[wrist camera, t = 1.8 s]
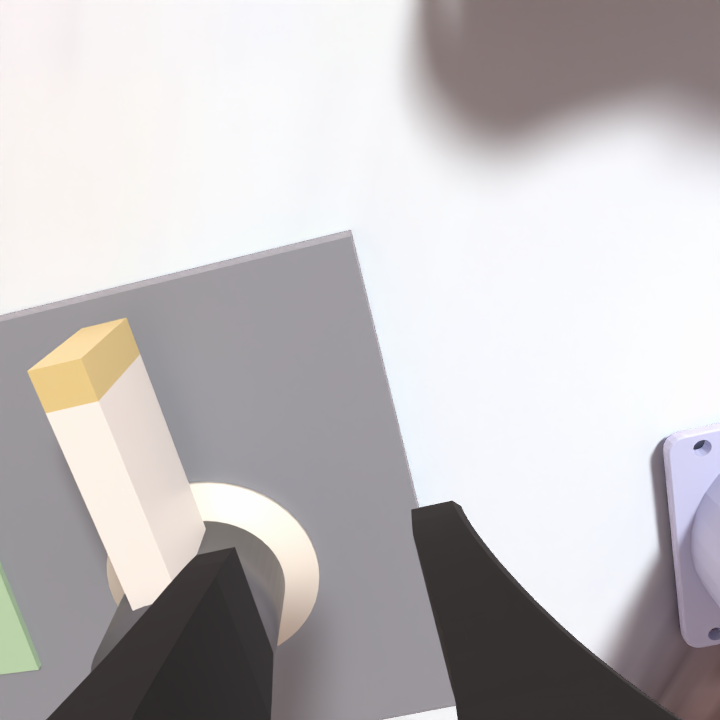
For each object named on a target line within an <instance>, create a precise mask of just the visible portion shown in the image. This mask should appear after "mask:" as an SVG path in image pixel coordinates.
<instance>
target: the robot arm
mask: <svg viewBox="0 0 720 720" xmlns="http://www.w3.org/2000/svg"><path fill="white" fill-rule="evenodd" d="M701 440H705V443H704V445H703V446H702V447H701V448H699V449H697V450H693V449H694V445H695V444H696V443H697V442H699V441H701ZM663 455H664V465H665V475H666V486H667V496H668V506H669V516H670V527H671V537H672V547H673V557H674V568H675V578H676V588H677V598H678V609H679V619H680V629H681V634H682V637H683V638H684V640H685V641H686V643H687V644H688V645H689V646H691V647H695V648H701V647H707V646H712V645H717V644H720V423H716V424H711V425H706V426H702V427H697V428H692V429H688V430H683V431H679V432H676V433H673V434H672V435H670V436H669V437H668V438H667V439H666V441H665V443H664V446H663ZM411 516H412V530H413V537H414V541H415V545H416V549H417V553H418V557H419V561H420V565H421V569H422V573H423V577H424V581H425V585H426V589H427V593H428V597H429V601H430V604H431V608H432V612H433V616H434V620H435V624H436V628H437V632H438V636H439V640H440V644H441V648H442V652H443V656H444V660H445V664H446V668H447V672H448V676H449V680H450V684H451V687H452V691H453V695H454V698H455V703H456V709H457V716H458V720H682V719H681V718H679V717H678V716H676V715H675V714H673V713H672V712H670V711H669V710H667V709H666V708H664V707H663V706H661V705H660V704H658V703H657V702H655V701H654V700H653V699H651V698H650V697H649V696H647V695H646V694H645V693H643V692H642V691H641V690H639V689H638V688H637V687H635V686H634V685H633V684H631V683H630V682H629V681H627V680H626V679H625V678H623V677H622V676H621V675H619V674H618V673H617V672H616V671H614V670H613V669H612V668H611V667H609V666H608V665H607V664H606V663H605V662H603V661H602V660H601V659H600V658H598V657H597V656H596V655H595V654H593V653H592V652H591V651H590V650H589V649H587V648H586V647H585V646H584V645H583V644H582V643H580V642H579V641H578V640H577V639H576V638H575V637H574V636H573V635H571V634H570V633H569V632H568V631H567V630H566V629H565V628H564V627H563V626H561V625H560V624H559V623H558V622H557V621H556V620H555V619H554V618H553V617H552V616H551V615H550V614H549V613H548V612H547V611H546V610H545V609H544V608H543V607H542V606H541V605H539V604H538V603H537V602H536V601H535V600H534V598H533V597H532V596H531V595H530V594H529V593H528V592H527V591H526V590H525V589H524V588H523V587H522V586H521V585H520V584H519V583H518V582H517V580H516V579H515V578H514V577H513V576H512V575H511V574H510V573H509V572H508V571H507V569H506V568H505V567H504V566H503V565H502V564H501V563H500V562H499V560H498V559H497V558H496V557H495V556H494V554H493V553H492V552H491V551H490V550H489V548H488V547H487V546H486V544H485V543H484V542H483V540H482V539H481V538H480V536H479V535H478V534H477V532H476V531H475V530H474V528H473V527H472V525H471V524H470V522H469V520H468V519H467V517H466V515H465V514H464V512H463V510H462V507H461V506H460V505H458V504H457V503H455V502H453V501H449V502H444V503H439V504H435V505H430V506H425V507H420V508H416V509H411ZM716 627H717V628H716ZM713 628H716V629H715V630H713V631H711V629H713ZM710 631H711V632H710ZM272 685H273V650H272V648H271V645H270V642H269V639H268V637H267V634H266V631H265V628H264V626H263V623H262V620H261V617H260V615H259V612H258V609H257V606H256V603H255V601H254V598H253V595H252V592H251V590H250V587H249V584H248V581H247V579H246V576H245V573H244V570H243V568H242V565H241V562H240V559H239V556H238V554H237V551H236V548H235V547H232V548H227V549H222V550H218V551H213V552H208V553H204V554H199V555H196V556H195V557H194V558H193V559H192V560H191V561H190V562H189V563H188V564H187V565H186V566H185V567H184V568H183V569H182V570H181V571H180V573H179V574H178V575H177V576H176V577H175V578H174V579H173V580H172V582H171V583H170V584H169V585H168V586H167V587H166V588H165V590H164V591H163V592H162V593H161V594H160V595H159V597H158V598H157V599H156V600H155V601H154V602H153V604H152V605H151V606H150V607H149V608H148V609H147V610H146V612H145V613H144V614H143V615H142V616H141V617H140V618H139V620H138V621H137V622H136V623H135V624H134V625H133V626H132V628H131V629H130V630H129V631H128V632H127V633H126V634H125V636H124V637H123V638H122V639H121V640H120V641H119V642H118V644H117V645H116V646H115V647H114V648H113V649H112V650H111V651H110V653H109V654H108V655H107V656H106V657H105V658H104V659H103V660H102V661H101V662H100V663H99V664H98V666H97V667H96V668H95V669H94V670H93V671H92V672H91V673H90V674H89V675H88V676H87V677H86V678H85V679H84V680H83V681H82V682H81V683H80V684H79V686H78V687H77V688H76V689H75V690H74V691H73V692H72V693H71V694H70V695H69V696H68V697H67V698H66V699H65V700H64V701H63V702H62V703H61V705H60V706H59V707H58V708H57V709H56V710H55V711H54V712H53V713H52V714H51V715H50V716H49V717H48V718H47V719H46V720H271V706H272Z"/></svg>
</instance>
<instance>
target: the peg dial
mask: <svg viewBox="0 0 720 720" xmlns="http://www.w3.org/2000/svg"><path fill="white" fill-rule="evenodd" d="M27 372H28V374H29V377H30V379H31V381H32V383H33V386H34V388H35V390H36V392H37V395H38V397H39V399H40V401H41V404H42V406H43V408H44V411H45V413H46V415H47V417H48V420H49V422H50V424H51V426H52V429H53V431H54V433H55V436H56V438H57V440H58V442H59V445H60V447H61V449H62V451H63V454H64V456H65V458H66V460H67V463H68V465H69V467H70V470H71V472H72V474H73V476H74V479H75V481H76V483H77V485H78V488H79V490H80V492H81V495H82V497H83V499H84V501H85V504H86V506H87V508H88V510H89V513H90V515H91V517H92V519H93V522H94V524H95V526H96V529H97V531H98V533H99V535H100V538H101V540H102V542H103V544H104V547H105V549H106V551H107V553H108V556H109V558H110V560H111V563H112V565H113V567H114V569H115V572H116V574H117V576H118V578H119V581H120V583H121V585H122V588H123V590H124V592H125V593H124V595H123V597H122V599H121V602H120V604H119V606H118V608H117V610H116V612H115V614H114V616H113V618H112V620H111V622H110V625H109V627H108V629H107V631H106V633H105V635H104V637H103V639H102V641H101V643H100V645H99V648H98V650H97V652H96V654H95V656H94V658H93V662H92V665H91V672H92V671H93V670H94V669H95V668H96V667H97V666H98V664H99V663H100V662H101V661H102V660H103V659H104V658H105V657H106V656H107V655H108V654H109V653H110V651H111V650H112V649H113V648H114V647H115V646H116V645H117V644H118V642H119V641H120V640H121V639H122V638H123V637H124V636H125V634H126V633H127V632H128V631H129V630H130V629H131V628H132V626H133V625H134V624H135V623H136V622H137V621H138V620H139V618H140V617H141V616H142V615H143V614H144V613H145V612H146V610H147V609H148V608H149V607H150V606H151V605H152V604H153V602H154V601H155V600H156V599H157V598H158V597H159V595H160V594H161V593H162V592H163V591H164V590H165V588H166V587H167V586H168V585H169V584H170V583H171V582H172V580H173V579H174V578H175V577H176V576H177V575H178V574H179V573H180V571H181V570H182V569H183V568H184V567H185V566H186V565H187V564H188V563H189V562H190V561H191V560H192V559H193V558H194V557H195V556H196V555H199V554H204V553H208V552H213V551H218V550H222V549H227V548H232V547H235V548H236V551H237V554H238V556H239V559H240V562H241V565H242V568H243V570H244V573H245V576H246V579H247V581H248V584H249V587H250V590H251V592H252V595H253V598H254V601H255V603H256V606H257V609H258V612H259V615H260V617H261V620H262V623H263V626H264V628H265V631H266V634H267V637H268V639H269V642H270V645H271V648H272V650H273V671H274V664H275V657H276V650H277V643H278V636H279V630H280V623H281V616H282V609H283V602H284V595H285V577H284V573H283V569H282V567H281V565H280V562H279V560H278V559H277V557H276V555H275V554H274V553H273V551H272V550H271V549H270V548H269V547H268V546H267V545H266V544H265V543H264V542H263V541H262V540H261V539H259V538H258V537H257V536H255V535H254V534H252V533H250V532H248V531H247V530H244V529H242V528H240V527H237V526H234V525H231V524H228V523H222V522H216V521H203V520H202V517H201V515H200V512H199V509H198V507H197V504H196V501H195V499H194V496H193V493H192V491H191V488H190V485H189V483H188V480H187V477H186V475H185V472H184V469H183V467H182V464H181V461H180V459H179V456H178V453H177V451H176V448H175V445H174V443H173V440H172V437H171V435H170V432H169V430H168V427H167V424H166V422H165V419H164V416H163V414H162V411H161V408H160V406H159V403H158V400H157V398H156V395H155V392H154V390H153V387H152V384H151V382H150V379H149V376H148V374H147V371H146V368H145V366H144V363H143V360H142V358H141V355H140V352H139V350H138V347H137V344H136V342H135V339H134V336H133V334H132V331H131V328H130V326H129V323H128V320H127V318H123V319H119V320H114V321H110V322H106V323H102V324H98V325H94V326H90V327H85V328H81V329H80V330H79V331H77V332H76V333H75V334H74V335H72V336H71V337H70V338H69V339H67V340H66V341H65V342H64V343H62V344H61V345H60V346H58V347H57V348H56V349H55V350H53V351H52V352H51V353H50V354H48V355H47V356H46V357H45V358H43V359H42V360H41V361H39V362H38V363H37V364H36V365H34V366H33V367H32V368H31V369H29V370H28V371H27Z"/></svg>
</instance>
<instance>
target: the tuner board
mask: <svg viewBox="0 0 720 720" xmlns="http://www.w3.org/2000/svg"><path fill="white" fill-rule="evenodd" d="M123 318H127V320H128V323H129V326H130V328H131V331H132V334H133V336H134V339H135V342H136V344H137V347H138V350H139V352H140V355H141V358H142V360H143V363H144V366H145V368H146V371H147V374H148V376H149V379H150V382H151V384H152V387H153V390H154V392H155V395H156V398H157V400H158V403H159V406H160V408H161V411H162V414H163V416H164V419H165V422H166V424H167V427H168V430H169V432H170V435H171V437H172V440H173V443H174V445H175V448H176V451H177V453H178V456H179V459H180V461H181V464H182V467H183V469H184V472H185V475H186V477H187V480H188V483H189V485H190V488H191V491H192V493H193V496H194V499H195V501H196V504H197V507H198V509H199V512H200V515H201V517H202V520H203V521H216V522H222V523H228V524H231V525H234V526H237V527H240V528H242V529H244V530H247V531H248V532H250V533H252V534H254V535H255V536H257V537H258V538H259V539H261V540H262V541H263V542H264V543H265V544H266V545H267V546H268V547H269V548H270V549H271V550H272V551H273V553H274V554H275V555H276V557H277V559H278V560H279V562H280V565H281V567H282V569H283V573H284V577H285V595H284V602H283V609H282V616H281V623H280V630H279V636H278V643H277V650H276V657H275V664H274V671H273V685H272V706H271V720H383V719H388V718H393V717H398V716H404V715H409V714H414V713H420V712H425V711H430V710H435V709H441V708H446V707H451V706H456V703H455V698H454V695H453V691H452V687H451V684H450V680H449V676H448V672H447V668H446V664H445V660H444V656H443V652H442V648H441V644H440V640H439V636H438V632H437V628H436V624H435V620H434V616H433V612H432V608H431V604H430V601H429V597H428V593H427V589H426V585H425V581H424V577H423V573H422V569H421V565H420V561H419V557H418V553H417V549H416V545H415V541H414V537H413V530H412V516H411V509H416V508H419V506H418V502H417V498H416V494H415V489H414V485H413V481H412V477H411V473H410V469H409V465H408V461H407V457H406V453H405V449H404V445H403V440H402V436H401V432H400V428H399V424H398V420H397V416H396V412H395V408H394V404H393V400H392V396H391V391H390V387H389V383H388V379H387V375H386V371H385V367H384V363H383V359H382V355H381V351H380V347H379V342H378V338H377V334H376V330H375V326H374V322H373V318H372V314H371V310H370V306H369V302H368V298H367V293H366V289H365V285H364V281H363V277H362V273H361V269H360V265H359V261H358V257H357V253H356V249H355V245H354V240H353V236H352V232H351V230H348V231H344V232H340V233H336V234H332V235H328V236H324V237H320V238H316V239H311V240H307V241H303V242H299V243H295V244H291V245H287V246H283V247H279V248H275V249H271V250H266V251H262V252H258V253H254V254H250V255H246V256H242V257H238V258H234V259H230V260H226V261H221V262H217V263H213V264H209V265H205V266H201V267H197V268H193V269H189V270H185V271H181V272H176V273H172V274H168V275H164V276H160V277H156V278H152V279H148V280H144V281H140V282H136V283H132V284H127V285H123V286H119V287H115V288H111V289H107V290H103V291H99V292H95V293H91V294H87V295H82V296H78V297H74V298H70V299H66V300H62V301H58V302H54V303H50V304H46V305H42V306H37V307H33V308H29V309H25V310H21V311H17V312H13V313H9V314H5V315H1V316H0V720H46V719H47V718H48V717H49V716H50V715H51V714H52V713H53V712H54V711H55V710H56V709H57V708H58V707H59V706H60V705H61V703H62V702H63V701H64V700H65V699H66V698H67V697H68V696H69V695H70V694H71V693H72V692H73V691H74V690H75V689H76V688H77V687H78V686H79V684H80V683H81V682H82V681H83V680H84V679H85V678H86V677H87V676H88V675H89V674H90V673H91V665H92V662H93V658H94V656H95V654H96V652H97V650H98V648H99V645H100V643H101V641H102V639H103V637H104V635H105V633H106V631H107V629H108V627H109V625H110V622H111V620H112V618H113V616H114V614H115V612H116V610H117V608H118V606H119V604H120V602H121V599H122V597H123V595H124V593H125V592H124V590H123V588H122V585H121V583H120V581H119V578H118V576H117V574H116V572H115V569H114V567H113V565H112V563H111V560H110V558H109V556H108V553H107V551H106V549H105V547H104V544H103V542H102V540H101V538H100V535H99V533H98V531H97V529H96V526H95V524H94V522H93V519H92V517H91V515H90V513H89V510H88V508H87V506H86V504H85V501H84V499H83V497H82V495H81V492H80V490H79V488H78V485H77V483H76V481H75V479H74V476H73V474H72V472H71V470H70V467H69V465H68V463H67V460H66V458H65V456H64V454H63V451H62V449H61V447H60V445H59V442H58V440H57V438H56V436H55V433H54V431H53V429H52V426H51V424H50V422H49V420H48V417H47V415H46V413H45V411H44V408H43V406H42V404H41V401H40V399H39V397H38V395H37V392H36V390H35V388H34V386H33V383H32V381H31V379H30V377H29V374H28V372H27V371H28V370H29V369H31V368H32V367H33V366H34V365H36V364H37V363H38V362H39V361H41V360H42V359H43V358H45V357H46V356H47V355H48V354H50V353H51V352H52V351H53V350H55V349H56V348H57V347H58V346H60V345H61V344H62V343H64V342H65V341H66V340H67V339H69V338H70V337H71V336H72V335H74V334H75V333H76V332H77V331H79V330H80V329H81V328H85V327H90V326H94V325H98V324H102V323H106V322H110V321H114V320H119V319H123Z"/></svg>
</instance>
